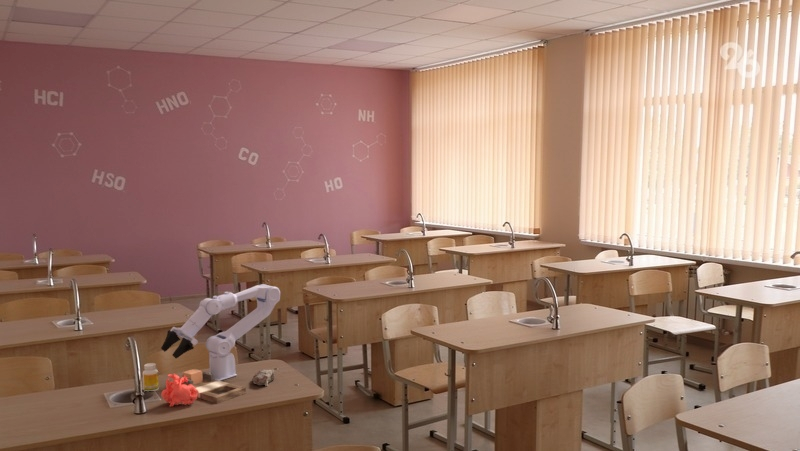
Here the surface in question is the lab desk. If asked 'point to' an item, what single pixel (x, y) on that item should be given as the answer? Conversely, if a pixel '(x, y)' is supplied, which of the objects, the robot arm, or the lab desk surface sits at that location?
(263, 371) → the mineral rock
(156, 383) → the supplement bottle
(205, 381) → the tunnel deck
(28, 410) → the lab desk surface
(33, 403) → the lab desk surface
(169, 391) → the anatomical heart
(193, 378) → the terracotta block
